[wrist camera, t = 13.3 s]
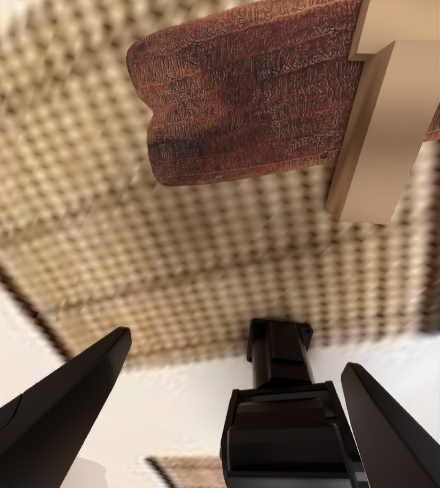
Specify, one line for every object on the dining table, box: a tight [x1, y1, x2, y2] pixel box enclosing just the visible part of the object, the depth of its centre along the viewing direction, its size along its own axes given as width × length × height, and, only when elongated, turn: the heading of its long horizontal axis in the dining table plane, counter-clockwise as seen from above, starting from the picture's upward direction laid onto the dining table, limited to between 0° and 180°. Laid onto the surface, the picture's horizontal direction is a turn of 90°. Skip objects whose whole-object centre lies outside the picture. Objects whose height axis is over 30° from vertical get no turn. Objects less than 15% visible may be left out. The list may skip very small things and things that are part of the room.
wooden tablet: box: [126, 0, 440, 186], centre depth 14 cm, size 26×2×10 cm
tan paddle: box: [325, 0, 440, 225], centre depth 12 cm, size 17×5×3 cm, turn 177°
